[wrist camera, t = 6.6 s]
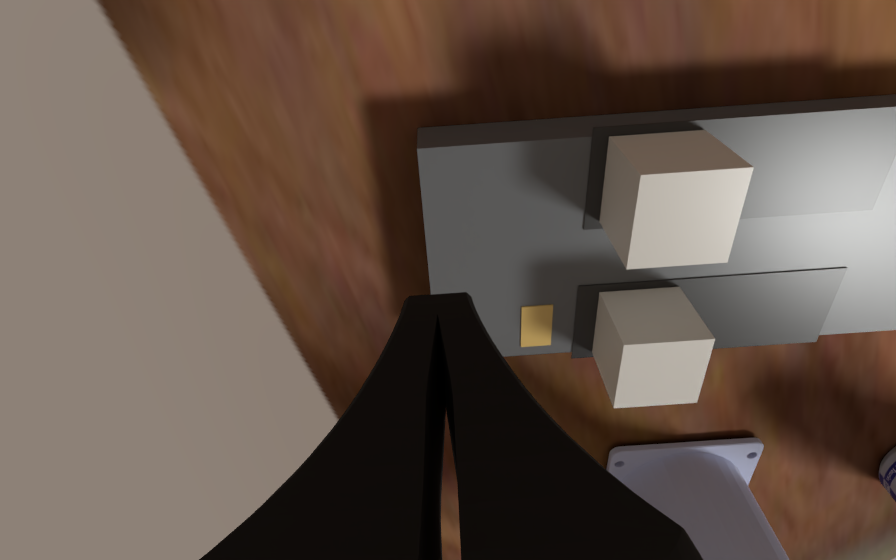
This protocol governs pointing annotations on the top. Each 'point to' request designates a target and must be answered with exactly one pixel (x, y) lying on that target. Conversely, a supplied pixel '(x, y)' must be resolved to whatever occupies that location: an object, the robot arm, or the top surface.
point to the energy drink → (889, 472)
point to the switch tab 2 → (650, 347)
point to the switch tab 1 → (672, 198)
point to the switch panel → (705, 285)
